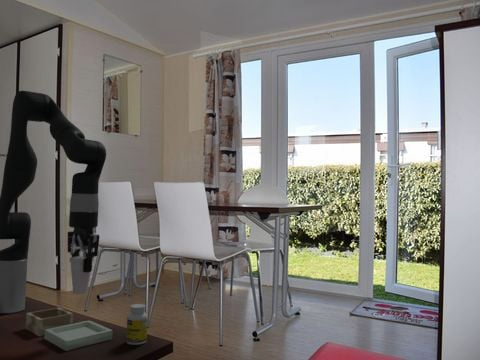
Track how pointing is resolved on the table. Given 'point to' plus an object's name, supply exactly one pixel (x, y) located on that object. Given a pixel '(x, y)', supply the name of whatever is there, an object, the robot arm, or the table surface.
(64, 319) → the holder
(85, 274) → the smoothie
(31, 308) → the table surface
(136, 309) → the supplement bottle
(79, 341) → the tray
